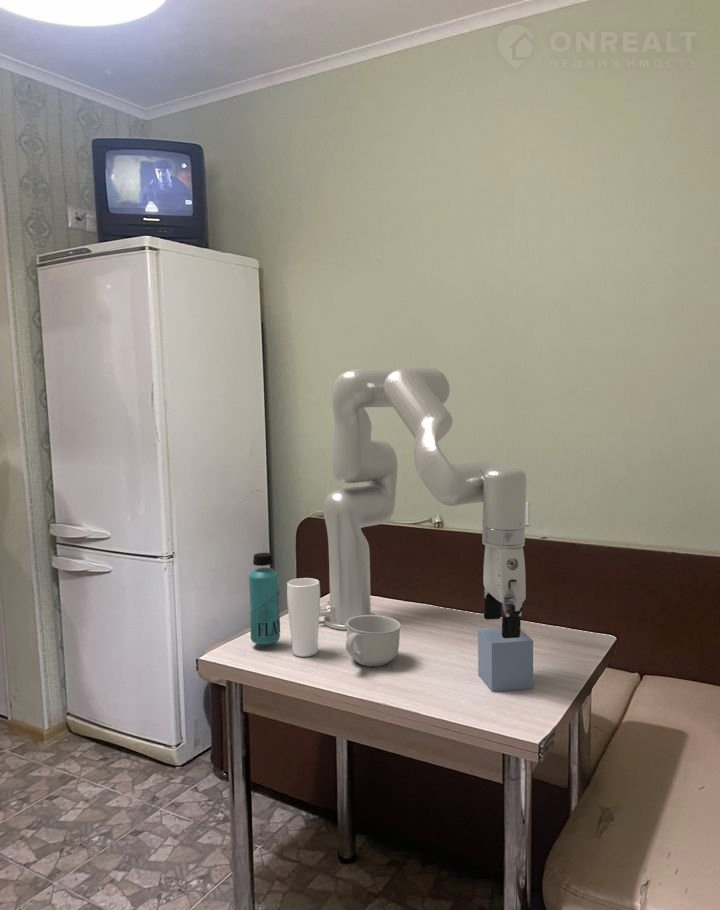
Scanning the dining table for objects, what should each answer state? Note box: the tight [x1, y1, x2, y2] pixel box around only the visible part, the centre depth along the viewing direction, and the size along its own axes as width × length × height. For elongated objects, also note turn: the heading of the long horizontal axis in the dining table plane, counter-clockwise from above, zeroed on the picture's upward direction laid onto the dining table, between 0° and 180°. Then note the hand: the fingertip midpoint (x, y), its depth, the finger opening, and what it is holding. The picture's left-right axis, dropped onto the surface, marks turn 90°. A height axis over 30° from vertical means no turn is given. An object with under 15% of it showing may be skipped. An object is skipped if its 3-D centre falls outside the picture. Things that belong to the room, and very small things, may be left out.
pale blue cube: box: [477, 627, 534, 693], centre depth 128 cm, size 8×8×9 cm
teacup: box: [345, 614, 402, 667], centre depth 138 cm, size 14×11×8 cm
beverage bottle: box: [248, 552, 281, 645], centre depth 149 cm, size 6×7×20 cm
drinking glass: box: [286, 577, 321, 658], centre depth 144 cm, size 7×7×15 cm
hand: (501, 627), depth 128 cm, fingers open, 9 cm apart
